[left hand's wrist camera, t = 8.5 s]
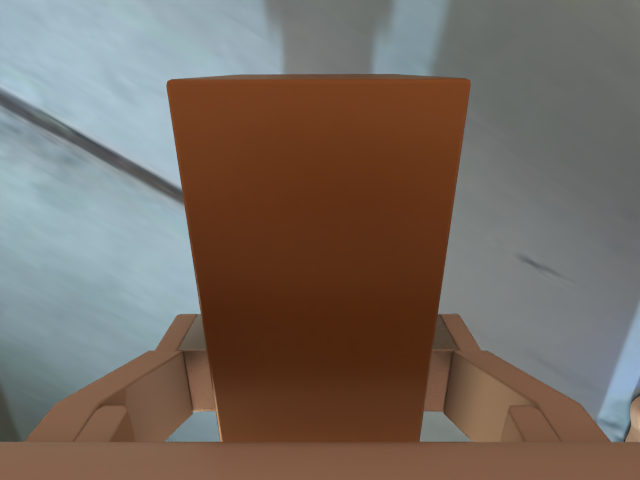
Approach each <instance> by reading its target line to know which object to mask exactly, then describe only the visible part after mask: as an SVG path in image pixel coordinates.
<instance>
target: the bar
mask: <svg viewBox="0 0 640 480" xmlns="http://www.w3.org/2000/svg"><path fill="white" fill-rule="evenodd" d="M470 85H471V84H470V80H468V79H466V78H450V77H433V76H416V75H400V74H276V75H228V76H213V77H199V78H184V79H171V80H169V81H167V85H166V86H167V93H168V99H169V106H170V113H171V119H172V126H173V132H174V139H175V146H176V152H177V159H178V165H179V172H180V178H181V185H182V192H183V198H184V205H185V211H186V218H187V225H188V231H189V238H190V244H191V251H192V257H193V264H194V271H195V277H196V284H197V290H198V297H199V304H200V310H201V317H202V323H203V330H204V337H205V343H206V350H207V356H208V363H209V369H210V376H211V383H212V389H213V396H214V402H215V409H216V416H217V422H218V429H219V435H220V442H419V440H420V433H421V426H422V419H423V412H424V405H425V398H426V391H427V384H428V377H429V371H430V364H431V357H432V350H433V343H434V336H435V329H436V322H437V315H438V308H439V301H440V294H441V287H442V280H443V273H444V266H445V259H446V252H447V245H448V238H449V231H450V224H451V217H452V210H453V203H454V196H455V190H456V183H457V176H458V169H459V162H460V155H461V148H462V141H463V134H464V127H465V120H466V113H467V106H468V99H469V92H470Z"/></svg>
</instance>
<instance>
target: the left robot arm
mask: <svg viewBox="0 0 640 480" xmlns="http://www.w3.org/2000/svg"><path fill="white" fill-rule="evenodd" d="M195 411H216V409H215V402H214V396H213V389H212V383H211V376H210V369H209V363H208V356H207V350H206V343H205V337H204V330H203V323H202V317H201V314H180V315H177V316H176V318H175V319H174V321H173V323H172V324H171V326H170V327H169V329H168V330H167V332H166V334H165V335H164V337H163V338H162V340H161V342H160V343H159V345H158V346H157V348H156V350H155V351H148V352H146V353H144V354H143V355H141V356H139V357H137V358H136V359H134V360H132V361H130V362H128V363H127V364H125V365H123V366H121V367H120V368H118V369H116V370H114V371H113V372H111V373H109V374H107V375H106V376H104V377H102V378H100V379H98V380H97V381H95V382H93V383H91V384H90V385H88V386H86V387H84V388H83V389H81V390H79V391H77V392H75V393H74V394H72V395H70V396H68V397H67V398H65V399H63V400H61V401H60V402H58V403H56V404H55V405H54V406H53V407H52V409H51V410H50V411H49V412H48V413H47V415H46V416H45V417H44V418H43V419H42V421H41V422H40V423H39V424H38V425H37V427H36V428H35V429H34V430H33V431H32V433H31V434H30V435H29V436H28V437H27V439H26V440H25V441H24V442H0V480H640V396H639V397H637V398H636V399H635V400H634V401H633V402H632V404H631V407H630V419H631V428H630V431H629V433H628V435H627V438H626V440H625V442H611V441H610V440H609V439H608V437H607V436H606V435H605V434H604V433H603V431H602V430H601V429H600V428H599V426H598V425H597V424H596V423H595V421H594V420H593V419H592V418H591V417H590V415H589V414H588V413H587V412H586V410H585V409H584V408H583V407H582V405H581V404H579V403H577V402H576V401H574V400H572V399H570V398H569V397H567V396H565V395H563V394H562V393H560V392H558V391H556V390H555V389H553V388H551V387H549V386H548V385H546V384H544V383H542V382H541V381H539V380H537V379H535V378H534V377H532V376H530V375H528V374H527V373H525V372H523V371H521V370H520V369H518V368H516V367H514V366H513V365H511V364H509V363H508V362H506V361H504V360H502V359H501V358H499V357H497V356H495V355H494V354H492V353H490V352H488V351H481V349H480V348H479V346H478V344H477V343H476V341H475V340H474V338H473V336H472V335H471V333H470V331H469V330H468V328H467V327H466V325H465V323H464V322H463V320H462V319H461V317H460V315H458V314H438V315H437V322H436V329H435V336H434V343H433V350H432V357H431V364H430V371H429V377H428V384H427V391H426V398H425V405H424V411H441V412H444V414H445V415H446V416H447V417H448V418H449V419H450V420H451V421H452V422H453V423H454V424H455V425H456V426H457V427H458V428H459V429H460V430H461V431H462V432H463V433H464V434H465V435H466V436H467V437H468V438H469V439H470V440H471V441H472V442H164V441H165V440H166V439H167V438H168V437H169V436H170V435H171V434H172V433H173V432H174V431H175V430H176V429H177V428H178V427H179V426H180V425H181V424H182V423H183V422H185V421H186V420H187V419H188V418H189V417H190V416H191V415H192V414H193V412H195Z"/></svg>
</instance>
